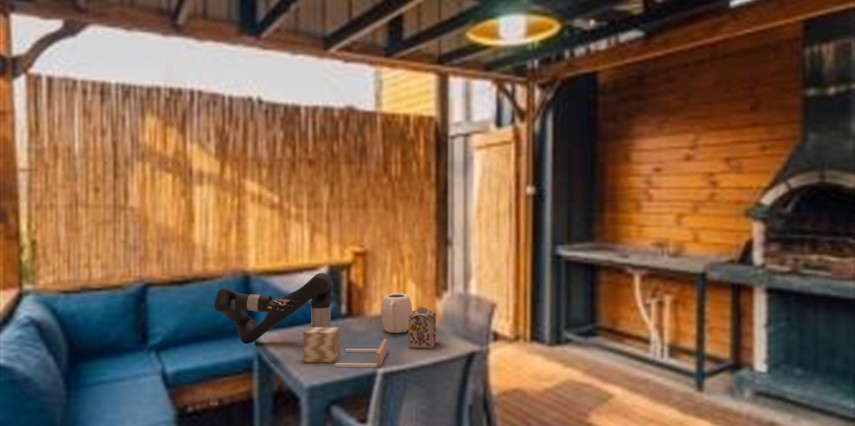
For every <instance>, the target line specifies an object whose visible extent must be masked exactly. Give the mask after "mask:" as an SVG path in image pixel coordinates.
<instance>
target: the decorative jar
mask: <svg viewBox="0 0 855 426" xmlns="http://www.w3.org/2000/svg"><path fill="white" fill-rule="evenodd" d="M408 320H409V325H408V330H407V331H408V336H407V337H408V348H411V349H434V346H435V344H436V343H437V315H436V312H435V311H433V310H430V309H428V307H427V306H420V307H417V310H412V312H411V313H410V316H409V319H408Z"/></svg>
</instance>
